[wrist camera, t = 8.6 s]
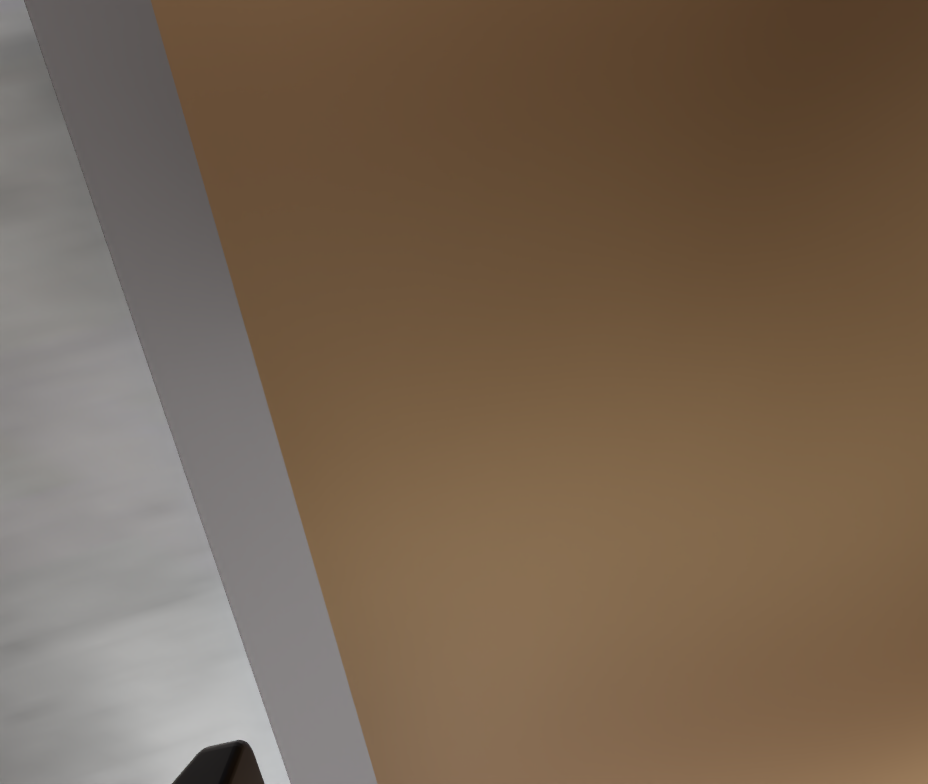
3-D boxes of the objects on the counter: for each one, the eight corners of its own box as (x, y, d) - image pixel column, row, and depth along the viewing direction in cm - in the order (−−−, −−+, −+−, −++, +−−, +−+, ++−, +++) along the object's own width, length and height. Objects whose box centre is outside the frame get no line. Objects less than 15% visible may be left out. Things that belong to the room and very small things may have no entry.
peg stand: (874, 704, 19) (1030, 890, 15) (321, 826, 19) (298, 1056, 14) (864, -264, 13) (1141, -492, 8) (13, -103, 12) (-217, -242, 8)
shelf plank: (818, 861, 14) (1037, 1236, 9) (490, 934, 14) (543, 1354, 9) (773, -189, 9) (1236, -569, 4) (237, -88, 8) (48, -356, 4)
